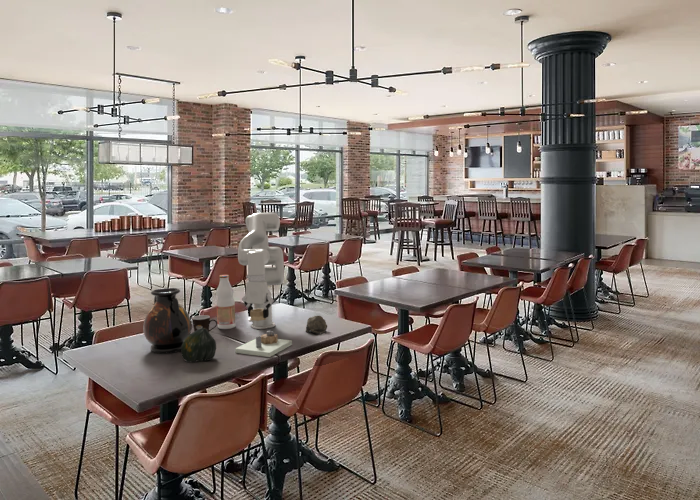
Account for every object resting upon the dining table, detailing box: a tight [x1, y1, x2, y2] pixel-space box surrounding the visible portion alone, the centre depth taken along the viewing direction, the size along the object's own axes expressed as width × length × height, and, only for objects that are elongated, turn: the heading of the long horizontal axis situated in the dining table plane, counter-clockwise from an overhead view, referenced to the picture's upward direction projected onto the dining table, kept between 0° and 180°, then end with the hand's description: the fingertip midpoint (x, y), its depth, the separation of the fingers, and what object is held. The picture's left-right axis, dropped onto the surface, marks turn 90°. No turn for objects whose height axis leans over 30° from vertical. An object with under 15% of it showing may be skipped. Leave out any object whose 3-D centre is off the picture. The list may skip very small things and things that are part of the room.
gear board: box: [235, 330, 293, 358], centre depth 260 cm, size 18×20×7 cm
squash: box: [180, 328, 217, 363], centre depth 245 cm, size 14×15×15 cm
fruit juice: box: [215, 274, 236, 330], centre depth 298 cm, size 9×9×28 cm
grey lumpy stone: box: [305, 315, 328, 335], centre depth 287 cm, size 11×9×10 cm
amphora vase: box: [142, 287, 193, 354], centre depth 261 cm, size 22×22×28 cm
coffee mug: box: [191, 314, 218, 333], centre depth 281 cm, size 12×9×10 cm
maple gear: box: [249, 308, 266, 321], centre depth 254 cm, size 7×7×4 cm
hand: (258, 316), depth 254 cm, fingers closed on maple gear, 7 cm apart
